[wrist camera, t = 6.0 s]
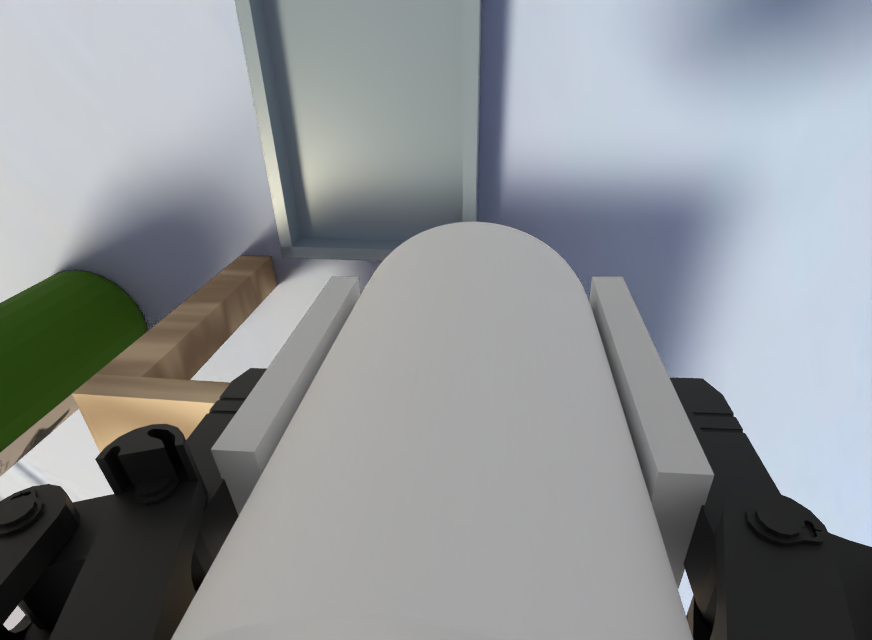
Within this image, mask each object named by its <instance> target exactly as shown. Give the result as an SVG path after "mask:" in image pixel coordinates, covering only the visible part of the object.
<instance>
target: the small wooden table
mask: <svg viewBox="0 0 872 640" xmlns="http://www.w3.org/2000/svg"><path fill="white" fill-rule="evenodd" d="M276 286H277V284H276V279H275V274H274V269H273V264H272V259H271V256H239V257H238V258H237V259H235V260H234V261H233V262H232V263H230V264H229V265H228V266H227V267H226V268H224V269H223V270H222V271H221V272H219V273H218V274H217V275H216V276H215V277H213V278H212V279H211V280H210V281H209V282H207V283H206V284H205V285H204V286H202V287H201V288H200V289H199V290H198V291H196V292H195V293H194V294H193V295H191V296H190V297H189V298H188V299H187V300H185V301H184V302H183V303H182V304H180V305H179V306H178V307H177V308H176V309H174V310H173V311H172V312H171V313H169V314H168V315H167V316H166V317H165V318H163V319H162V320H161V321H160V322H158V323H157V324H156V325H155V326H154V327H152V328H151V329H150V330H149V331H147V332H146V333H145V334H144V335H143V336H141V337H140V338H139V339H138V340H136V341H135V342H134V343H133V344H132V345H130V346H129V347H128V348H127V349H125V350H124V351H123V352H122V353H121V354H119V355H118V356H117V357H116V358H115V359H113V360H112V361H111V362H110V363H108V364H107V365H106V366H105V367H104V368H102V369H101V370H100V371H99V372H97V373H96V374H95V375H94V376H93V377H91V378H90V379H89V380H88V381H86V382H85V383H84V384H83V385H82V386H80V387H79V388H78V389H77V390H75V391H74V392H73V393H72V395H73V397H74V399H75V401H76V403H77V405H78V407H79V409H80V412H81V414H82V416H83V418H84V420H85V422H86V424H87V426H88V428H89V430H90V432H91V434H92V436H93V438H94V441H95V443H96V445H97V447H98V449H99V451H100V453H101V452H102V450H103V449H104V448H105V447H106V446H107V445H109V444H110V443H111V442H113V441H114V440H115V439H117V438H118V437H120V436H122V435H124V434H126V433H128V432H130V431H132V430H134V429H137V428H140V427H144V426H148V425H151V424H169V425H172V426H176V427H178V428H179V429H180V431H181V432H182V433H183V434H184V437H185V439H186V440H187V438H188V437H189V436H190V435H191V433H192V432H193V431H194V429H195V428H196V427H197V425H198V424H199V423H200V422H201V420H202V419H203V418H204V416H205V415H206V414H209V412H210V411H209V410H210V409H211V407H212V406H213V405H214V404H215V402H216V401H217V400H219V399H220V398H219V397H220V396H221V395H222V393H223V392H224V391H225V389H226V388H227V387H228V386H229V384H230V383H228V382H212V381H196V380H190V379H191V378H192V377H193V376H194V375H195V374H196V373H197V372H198V371H199V369H200V368H201V367H202V366H203V365H204V364H205V363H206V362H207V361H208V360H209V359H210V358H211V356H212V355H213V354H214V353H215V352H216V351H217V350H218V349H219V348H220V347H221V346H222V345H223V344H224V342H225V341H226V340H227V339H228V338H229V337H230V336H231V335H232V334H233V333H234V332H235V331H236V329H237V328H238V327H239V326H240V325H241V324H242V323H243V322H244V321H245V320H246V319H247V318H248V317H249V315H250V314H251V313H252V312H253V311H254V310H255V309H256V308H257V307H258V306H259V305H260V304H261V302H262V301H263V300H264V299H265V298H266V297H267V296H268V295H269V294H270V293H271V292H272V291H273V290H274V288H275V287H276Z"/></svg>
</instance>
